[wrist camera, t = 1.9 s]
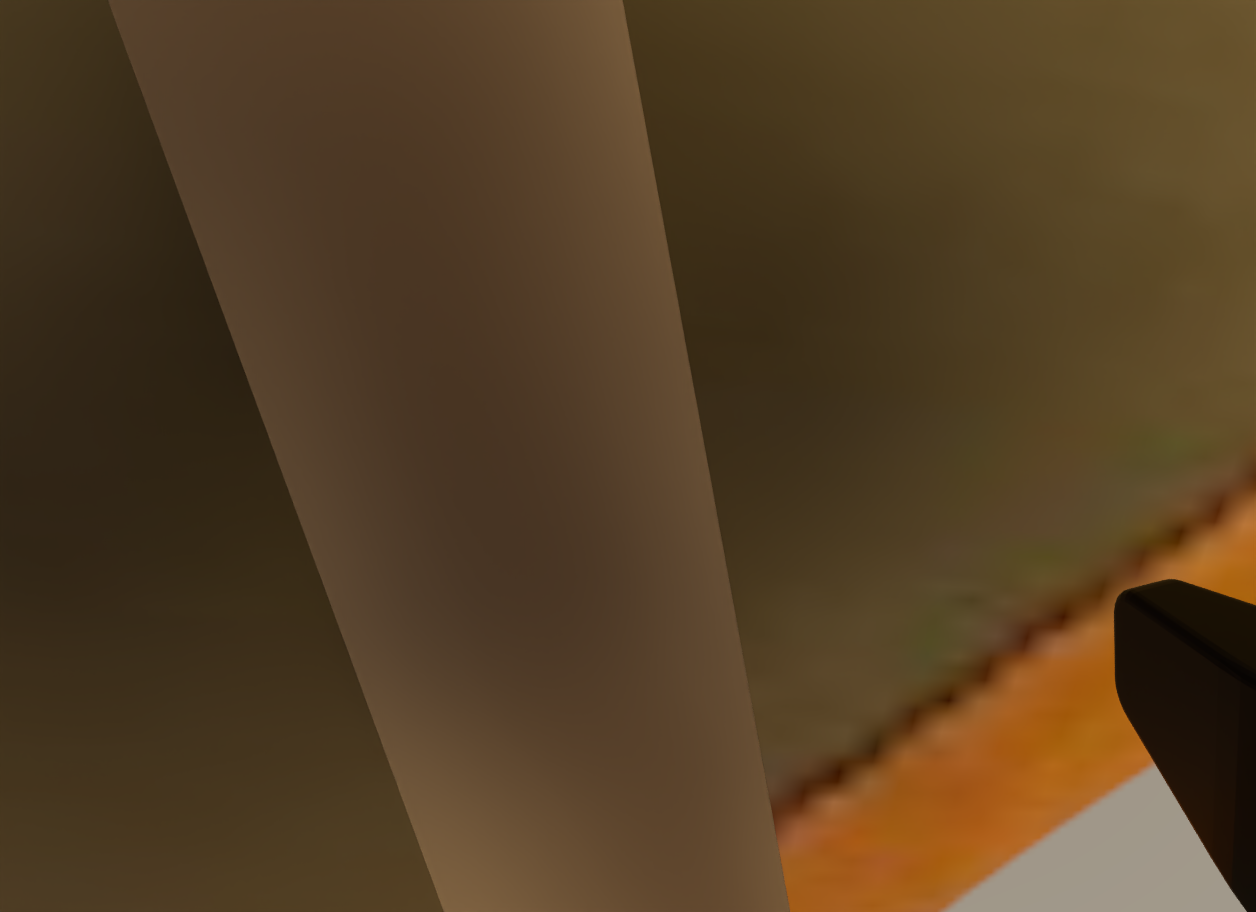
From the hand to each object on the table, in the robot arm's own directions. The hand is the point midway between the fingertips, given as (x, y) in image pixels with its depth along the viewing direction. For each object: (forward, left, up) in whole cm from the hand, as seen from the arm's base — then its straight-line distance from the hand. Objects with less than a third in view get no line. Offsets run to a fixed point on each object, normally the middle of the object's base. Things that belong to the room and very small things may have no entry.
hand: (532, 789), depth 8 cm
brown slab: (0, 0, -10) cm, 10 cm away
